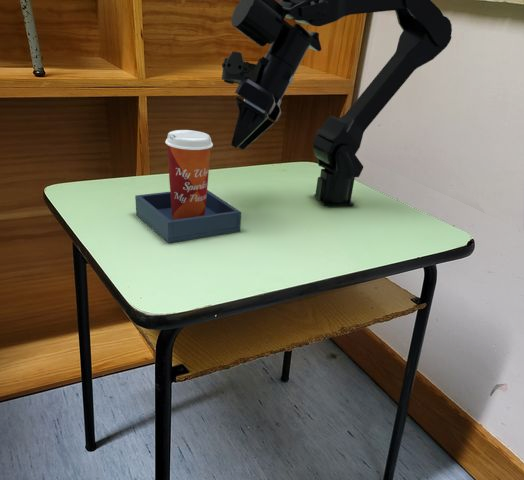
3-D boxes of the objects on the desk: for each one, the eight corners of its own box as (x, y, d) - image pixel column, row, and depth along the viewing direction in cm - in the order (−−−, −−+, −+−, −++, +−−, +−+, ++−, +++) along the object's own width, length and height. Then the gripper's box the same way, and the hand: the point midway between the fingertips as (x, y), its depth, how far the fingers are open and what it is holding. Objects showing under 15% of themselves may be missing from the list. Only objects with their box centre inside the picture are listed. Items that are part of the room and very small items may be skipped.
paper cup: (177, 229, 89) (177, 142, 82) (159, 213, 95) (157, 130, 87) (218, 223, 93) (222, 139, 85) (198, 208, 98) (200, 128, 90)
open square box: (203, 205, 102) (204, 187, 100) (240, 231, 93) (241, 211, 91) (136, 214, 95) (135, 195, 93) (168, 243, 86) (167, 222, 84)
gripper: (247, 48, 99) (208, 127, 104) (232, 22, 81) (186, 119, 86) (298, 80, 100) (257, 157, 105) (294, 61, 82) (245, 155, 87)
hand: (237, 147), depth 96 cm, fingers open, 9 cm apart
